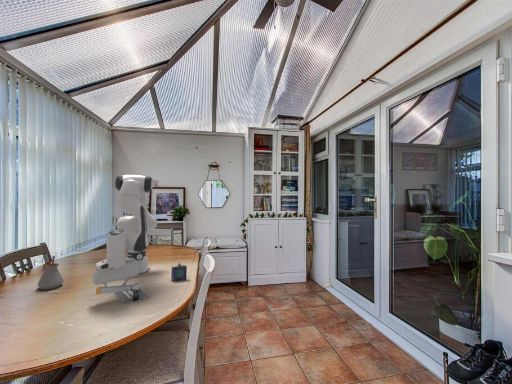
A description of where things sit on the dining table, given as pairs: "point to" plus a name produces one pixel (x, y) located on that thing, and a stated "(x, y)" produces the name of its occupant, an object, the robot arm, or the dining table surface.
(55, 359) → the dining table surface
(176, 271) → the flask
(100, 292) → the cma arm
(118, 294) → the chassis plate
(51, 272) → the grey vase with sticks
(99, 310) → the dining table surface
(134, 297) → the dark grey cylinder
